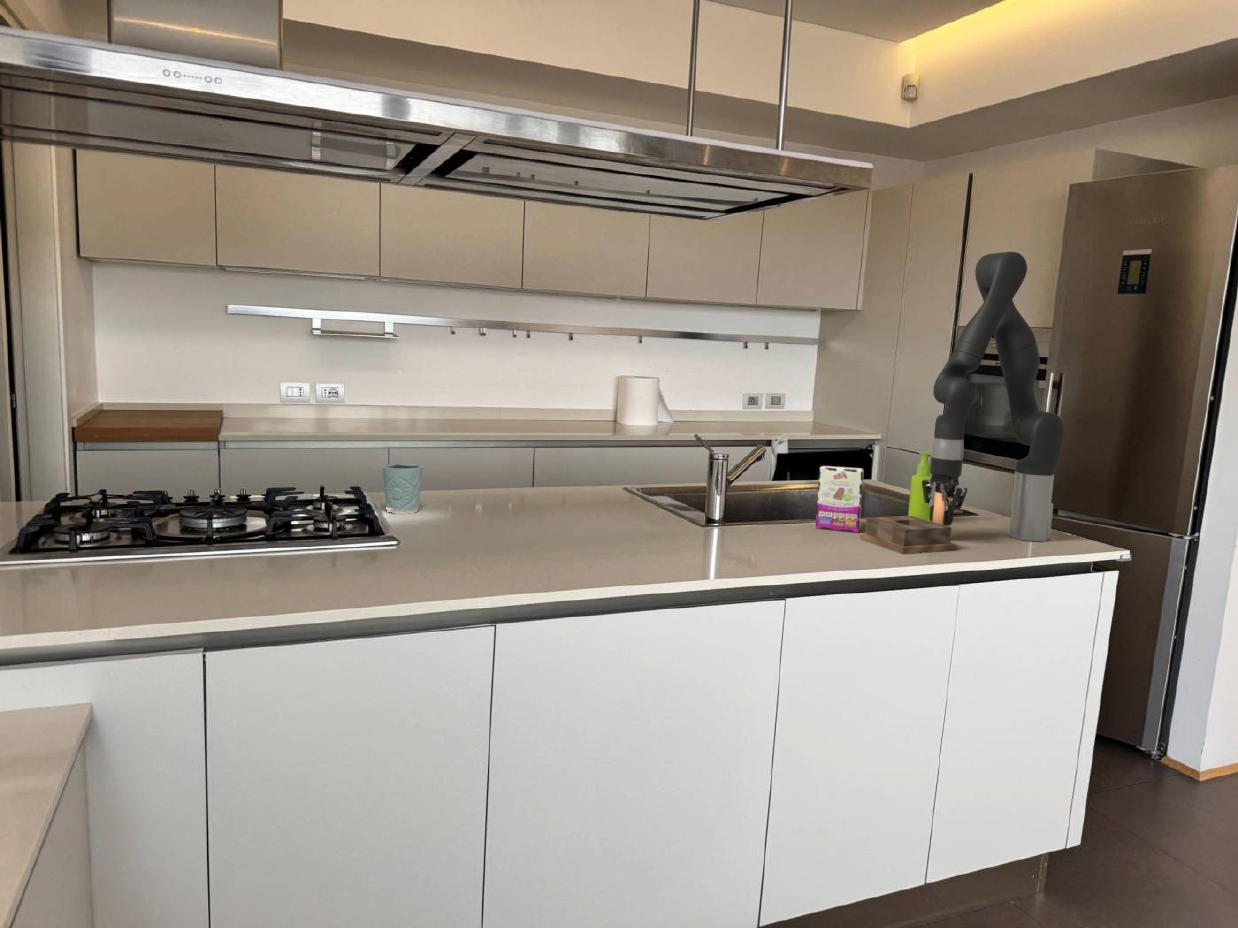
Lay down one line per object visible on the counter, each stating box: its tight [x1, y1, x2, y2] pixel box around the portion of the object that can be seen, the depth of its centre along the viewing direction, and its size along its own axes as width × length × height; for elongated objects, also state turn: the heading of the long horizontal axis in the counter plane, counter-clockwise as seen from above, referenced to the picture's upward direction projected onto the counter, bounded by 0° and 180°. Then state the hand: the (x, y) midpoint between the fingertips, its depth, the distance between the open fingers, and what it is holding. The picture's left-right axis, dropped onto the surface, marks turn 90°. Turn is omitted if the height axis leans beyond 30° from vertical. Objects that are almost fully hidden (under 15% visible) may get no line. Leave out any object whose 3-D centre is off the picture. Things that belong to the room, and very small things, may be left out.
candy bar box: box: [815, 465, 865, 533], centre depth 231 cm, size 11×5×16 cm, turn 71°
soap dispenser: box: [907, 451, 932, 521], centre depth 244 cm, size 6×7×20 cm
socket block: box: [859, 515, 957, 555], centre depth 217 cm, size 16×16×6 cm
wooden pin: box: [931, 492, 952, 527], centre depth 224 cm, size 4×4×12 cm
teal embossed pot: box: [382, 463, 423, 510], centre depth 230 cm, size 10×10×12 cm
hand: (940, 522), depth 224 cm, fingers closed on wooden pin, 4 cm apart
